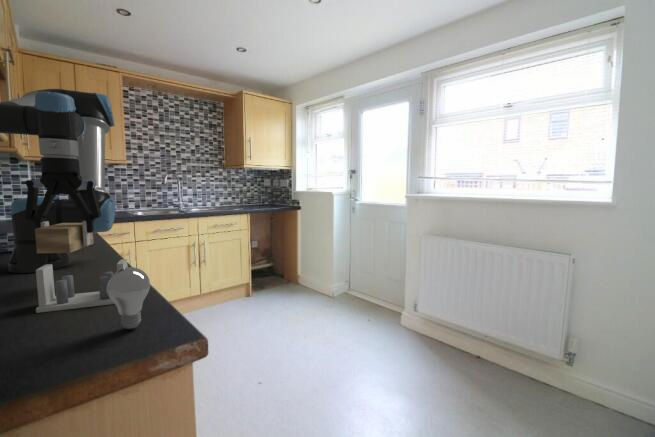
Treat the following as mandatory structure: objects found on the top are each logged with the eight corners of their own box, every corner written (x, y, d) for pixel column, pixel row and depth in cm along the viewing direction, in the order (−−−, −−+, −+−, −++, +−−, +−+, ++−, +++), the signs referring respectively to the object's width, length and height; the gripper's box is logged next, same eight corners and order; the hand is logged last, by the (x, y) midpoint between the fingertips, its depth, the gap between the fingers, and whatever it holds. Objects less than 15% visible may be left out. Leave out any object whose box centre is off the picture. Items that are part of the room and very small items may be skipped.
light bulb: (160, 324, 63) (157, 265, 62) (128, 340, 56) (124, 274, 55) (134, 319, 65) (131, 261, 64) (100, 333, 59) (96, 270, 57)
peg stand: (51, 300, 75) (48, 263, 74) (130, 292, 81) (128, 257, 80) (36, 312, 68) (32, 271, 67) (123, 302, 74) (121, 265, 73)
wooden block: (65, 244, 88) (63, 222, 87) (93, 243, 89) (92, 222, 88) (36, 253, 77) (34, 228, 76) (69, 252, 78) (68, 228, 77)
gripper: (-3, 154, 73) (8, 251, 76) (105, 158, 81) (110, 246, 84) (14, 156, 79) (23, 245, 82) (111, 159, 87) (117, 240, 90)
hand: (67, 245), depth 83 cm, fingers closed on wooden block, 8 cm apart
